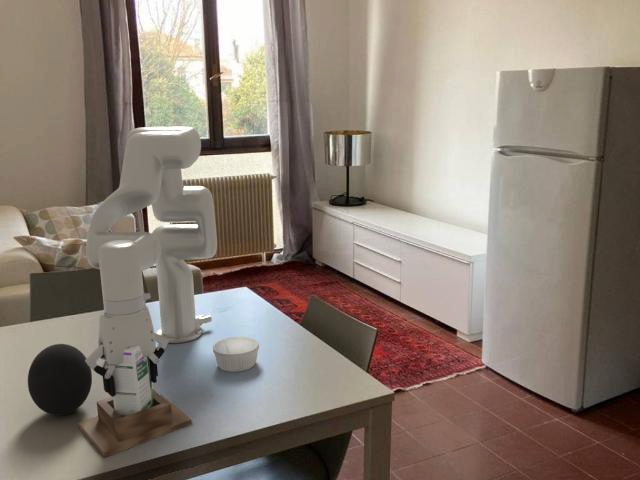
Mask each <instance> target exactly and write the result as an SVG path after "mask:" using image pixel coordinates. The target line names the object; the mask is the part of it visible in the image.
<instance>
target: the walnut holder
mask: <svg viewBox="0 0 640 480" xmlns="http://www.w3.org/2000/svg"><path fill="white" fill-rule="evenodd" d="M152 390H153V400H154V404H153V405H152V406H151V407H150V408H148V409H145V410H142V411H139V412H136V413H133V414H130V415H128V416H120V415H119V414H118V413H117V412H116V411H115V410H114V402H113V397H112V396H110V397H106V398H104V399H101V400H98V401H97V400H96V409H97V415H96V416H94V417H90V418H88V419H85V420H82V421H79V422H78V427H79V429H80V430H81V431H82V433H84V436H86V437H87V439H88V440H89V441H90V442H91V443H92V445H93V446H95V448H96V449H97V450H98V452H99V453H100V454H101V456H103V458H106V457H109V456H113V455H115V454H116V453H120V452H122V451H125V450H127V449H131V448H132V447H135V446H138V445H140V444H143V443H146V442H147V441H151V440H153V439H155V438H159V437H161V436H164V435H165V434H169V433H171V432H173V431H176V430H179V429H182V428H184V427H186V426H187V427H188V426H190V425H191V424H192V423H193V420H192V418H191V417H190V416H189V415H187V413H185V412H184V411H182V410H181V409H180V408H179V407H177V405H175V404H174V403H173V402H172V401H170V400H169V399H168V398H167V397H165V396H164V395H163V394H159V393H158V392H157V391H156V390H155V389H153V388H152Z"/></svg>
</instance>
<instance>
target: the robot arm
mask: <svg viewBox="0 0 640 480" xmlns="http://www.w3.org/2000/svg"><path fill="white" fill-rule="evenodd" d="M126 136H127V137H126V144H125V149H124V156H123V160H122V161H123V162H122V168H121V173H120V174H121V175H120V178H119V179H120V180H119V187H118V188H117V189H116V190H114V191H113V192H112V193H111V194H110V195H108V196H107V197H106V198H105V199H104V200H103V201H102V202H101V203H100V205H99V206H98V207H97V208H96V209H95V211H94V213H93V215H92V216H91V218H90V219H91V220H90V221H89V222H90V224H89V228H88V232H87V239H86V245H85V246H86V247H85V256H86V261H87V262H88V265H90V266H91V267H93V268H94V269H97V270H99V272H100V273H99V274H100V280H101V281H100V282H101V283H100V284H101V291H102V301H103V312H100V313H99V318H98V319H99V320H98V333H97V334H98V337H97V338H98V347H97V348H96V349H95V350H94V351H93V352H92V353H90V355H89V356H88V357H86V360H85V363H86V364H87V365H88V366H89V367H90V368H91V370H92V371H94V372H95V373H96V374H98V375H99V376H101V377H102V383H103V390H104V392H105V393H107V394H108V395H109V396H110V397H113V396H115V395H116V392H115V382H114V377H113V376H112V373H113V371H114V369H115V366H116V365H118V364H121V363H123V359H124V350H125V349H126V348H130V347H135V346H140V349H141V352H142V355H143V357H146V356H148V357H149V361H150V371H151V381H152V384H156V383H158V379H157V378H158V377H159V370H158V364H159V363H160V359H161V358H162V356H164V355H163V354H164V353H165V350H166V348H167V347H168V345H169V344H181V343H186V342H191V341H194V340H196V339H198V338H199V337H200V336H201V335H202V334H203V328H202V327H201V326H203V324H208V323H211V322H212V321H213V320H212V316H211V315H210V314H209V315H207V316H206V315H205V316H204V315H203V314H199V315H196V304H195V303H196V301H195V291H194V290H195V288H194V287H195V286H194V276H193V271H192V269H191V268H190V266H189V265H188V264H187V263H186V261H185V260H206V259H211V258H214V256H215V255H216V254H217V250H218V236H217V225H216V224H217V223H216V214H215V204H214V198H213V195H212V192H211V191H210V189H209V188H207V187H206V186H202V185H184V182H183V175H182V170H183V169H184V170H186V169H188V168H189V169H190V167H191V166H192V165H194V164H195V162H197V160H198V159H199V157H200V155H201V150H202V139H201V136H200V134H199V131H198V130H197V129H196V128H195V127H193V126H144V127H142V126H141V127H137V128H136V127H135V128H133V129H131V130H130V131H129V132H128V133H127V135H126ZM149 206H151V209H152V213H153V216H154V217H155V219H156V220H157V221H159V222H163V223H174V224H164V225H159V226H158V227H155V229H154V230H153V231H152V232H148V231H112V232H111V231H110V230H111V228H112V226H114V225H115V224H116V223H117V222H118V221H120V220H121V219H123V218H125V217H126V216H128V215H131V214H134V213H136V212H138V211H141V210H142V209H146V208H147V207H149ZM175 223H178V224H175ZM179 223H180V224H179ZM182 223H183V224H182ZM185 223H188V224H185ZM190 223H193V224H190ZM154 266H156V267H155V268H156V278H157V291H158V302H159V313H160V314H159V315H160V326H161V327H160V328H159V329H157V331H156V333H155V331H154V330H155V329H154V325H153V320H152V316H151V314H150V310H149V307H148V306H147V304H146V302H147V301H149V300H151V296H152V295H151V293H150V292H145V291H144V284H143V282H144V281H143V271H146V270H148V269H151V268H152V267H154ZM156 342H158V344H157V346H156ZM99 359H101V360H103V363H102V365H99V364H97V361H99Z"/></svg>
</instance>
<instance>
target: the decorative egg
mask: <svg viewBox="0 0 640 480" xmlns="http://www.w3.org/2000/svg"><path fill="white" fill-rule="evenodd" d="M86 359H87V357H86V356H85V354H84V353H83V352H82V351H81V350H79V349H78V348H76V347H75V346H72V345H71V344H65V343H57V344H52V345H49V346H47V347H45V348H44V349H42V350H41V351H40V352H39V353H38V354H37V355H36V356H35V357H34V358H33V361H32V362H31V365H30V366H29V370H28V373H27V388H28V392H29V395H30V398H31V399H32V401H33V403H34V404H35V405H36V406H37V407H38V408H39V409H40V410H41V411H43V412H45V413H46V414H49V415H52V416H65V415H68V414H71V413H73V412H75V411H76V410H78V409H79V408H80V407H81V406H82V405H83V404H84V403H85V401H86V400H87V398H88V397H89V396H90V395H89V394H90V392H91V388H92V383H93V374H92V368H90V367H89V366H88V365H87V364H86V363H85V360H86Z"/></svg>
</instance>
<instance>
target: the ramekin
mask: <svg viewBox="0 0 640 480" xmlns="http://www.w3.org/2000/svg"><path fill="white" fill-rule="evenodd" d="M259 348H260V344H259V342H258V341H257V340H256V339H255V338H253V337H247V336H232V337H231V336H230V337H227V338H223V339H221V340H219V341H217V342H216V343H214V344H213V346H212V351H213V354H214V357H215V360H216V365H217V367H218V368H219V369H221V370H222V371H224V372H227V373H228V372H229V373H240V372H243V371H248V370H249V369H251V368H253V367H254V366H255V364H256V363H257V360H258V352H259Z"/></svg>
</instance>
